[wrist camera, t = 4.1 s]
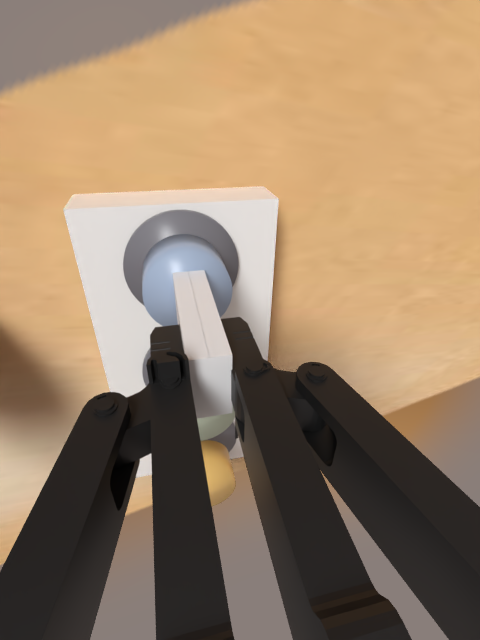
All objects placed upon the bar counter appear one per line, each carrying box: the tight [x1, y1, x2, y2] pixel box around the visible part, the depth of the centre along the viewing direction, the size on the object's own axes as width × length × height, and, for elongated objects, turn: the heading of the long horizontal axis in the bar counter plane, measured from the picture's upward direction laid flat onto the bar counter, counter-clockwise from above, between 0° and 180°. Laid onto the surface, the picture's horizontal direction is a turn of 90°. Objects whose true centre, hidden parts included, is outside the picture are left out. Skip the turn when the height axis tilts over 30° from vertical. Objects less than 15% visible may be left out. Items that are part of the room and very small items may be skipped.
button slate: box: [142, 234, 232, 326], centre depth 19 cm, size 4×4×2 cm
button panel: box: [63, 186, 279, 478], centre depth 26 cm, size 11×22×3 cm, turn 179°
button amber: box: [201, 440, 236, 507], centre depth 26 cm, size 4×4×2 cm
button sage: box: [197, 405, 235, 441], centre depth 22 cm, size 4×4×2 cm
